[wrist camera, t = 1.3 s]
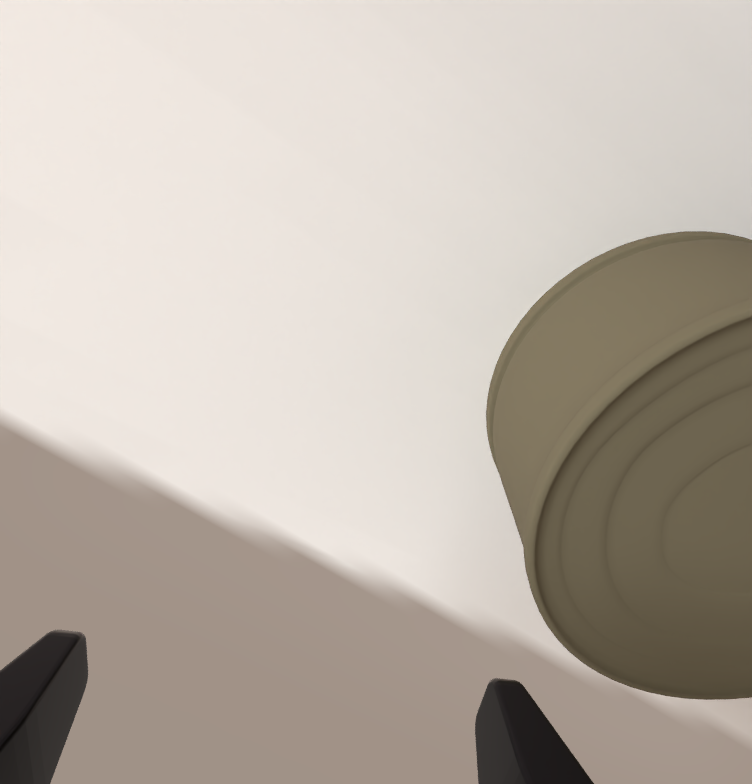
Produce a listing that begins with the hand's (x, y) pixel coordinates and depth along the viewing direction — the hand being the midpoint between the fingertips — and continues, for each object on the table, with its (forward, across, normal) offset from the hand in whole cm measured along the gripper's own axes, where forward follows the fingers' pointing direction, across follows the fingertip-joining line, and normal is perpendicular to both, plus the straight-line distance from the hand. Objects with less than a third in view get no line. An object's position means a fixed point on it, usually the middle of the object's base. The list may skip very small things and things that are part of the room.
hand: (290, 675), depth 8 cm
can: (+12, -11, 0) cm, 17 cm away
